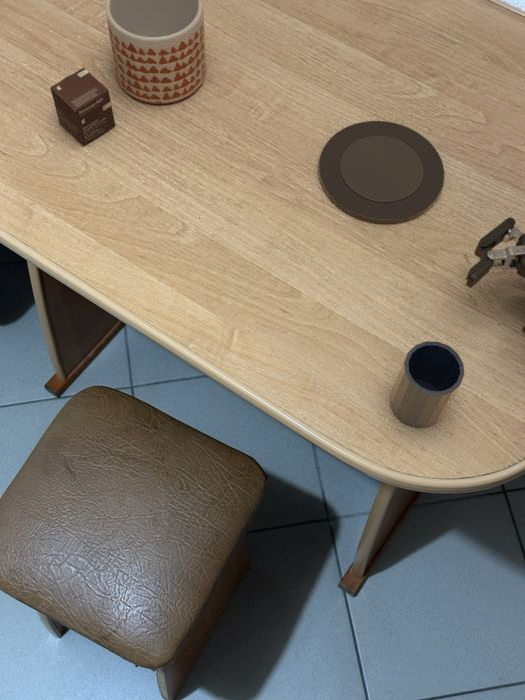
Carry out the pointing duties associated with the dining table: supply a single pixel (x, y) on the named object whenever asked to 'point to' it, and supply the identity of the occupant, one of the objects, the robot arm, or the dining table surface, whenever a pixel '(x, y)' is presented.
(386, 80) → the dining table surface
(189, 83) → the planter
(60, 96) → the box
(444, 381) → the cup
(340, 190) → the plate
